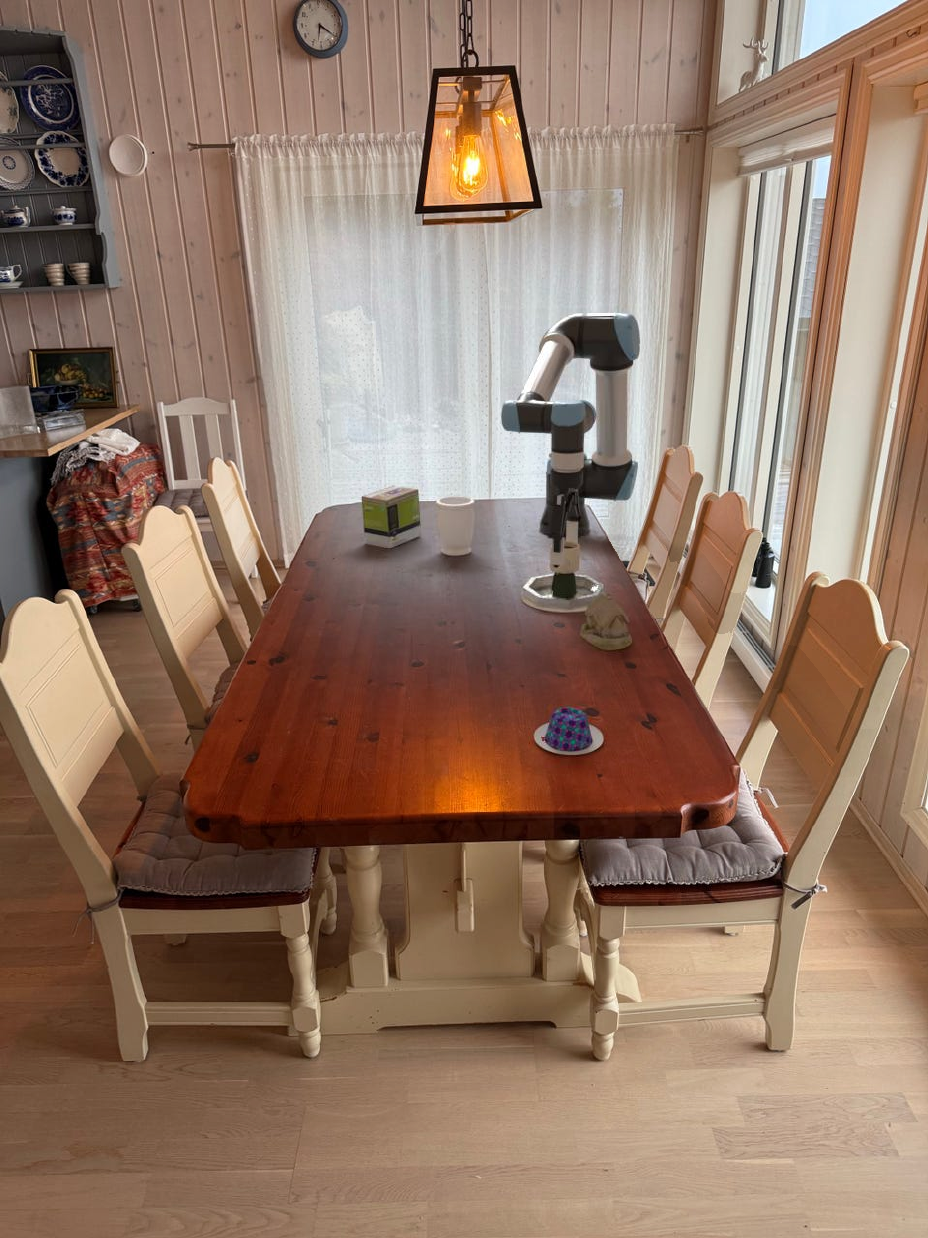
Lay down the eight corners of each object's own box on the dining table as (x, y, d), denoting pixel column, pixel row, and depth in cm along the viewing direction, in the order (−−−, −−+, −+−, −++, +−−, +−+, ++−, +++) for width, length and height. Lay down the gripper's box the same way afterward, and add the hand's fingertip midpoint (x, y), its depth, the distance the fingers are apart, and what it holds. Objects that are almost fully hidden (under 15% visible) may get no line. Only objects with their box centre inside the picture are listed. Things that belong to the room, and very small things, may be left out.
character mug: (542, 589, 222) (543, 539, 217) (569, 586, 224) (571, 537, 219) (557, 604, 212) (558, 552, 208) (585, 601, 214) (587, 550, 209)
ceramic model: (571, 628, 200) (573, 586, 196) (617, 623, 203) (620, 581, 199) (596, 653, 188) (598, 609, 184) (645, 647, 190) (647, 603, 187)
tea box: (396, 531, 273) (394, 484, 267) (422, 536, 268) (420, 488, 262) (363, 544, 262) (360, 494, 256) (389, 549, 256) (387, 499, 251)
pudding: (617, 739, 155) (618, 712, 153) (575, 766, 147) (576, 738, 145) (562, 717, 162) (562, 691, 160) (519, 742, 154) (520, 715, 152)
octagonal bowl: (534, 579, 231) (534, 568, 230) (614, 587, 224) (614, 576, 223) (509, 607, 213) (509, 595, 211) (596, 617, 206) (596, 605, 205)
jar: (476, 546, 257) (475, 496, 252) (473, 557, 248) (472, 505, 242) (439, 546, 258) (438, 495, 253) (435, 557, 249) (433, 505, 243)
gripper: (564, 456, 218) (562, 538, 226) (536, 480, 197) (535, 570, 205) (594, 457, 216) (591, 541, 224) (569, 482, 194) (567, 573, 203)
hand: (564, 555), depth 215 cm, fingers open, 13 cm apart
